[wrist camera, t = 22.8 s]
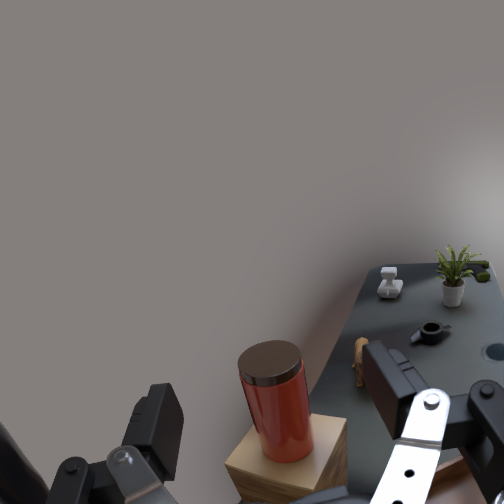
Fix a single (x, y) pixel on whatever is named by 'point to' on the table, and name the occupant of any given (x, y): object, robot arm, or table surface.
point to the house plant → (453, 278)
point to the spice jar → (278, 399)
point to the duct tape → (429, 333)
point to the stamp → (389, 283)
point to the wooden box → (454, 485)
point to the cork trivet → (296, 473)
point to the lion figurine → (359, 359)
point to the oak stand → (282, 494)
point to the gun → (474, 269)
